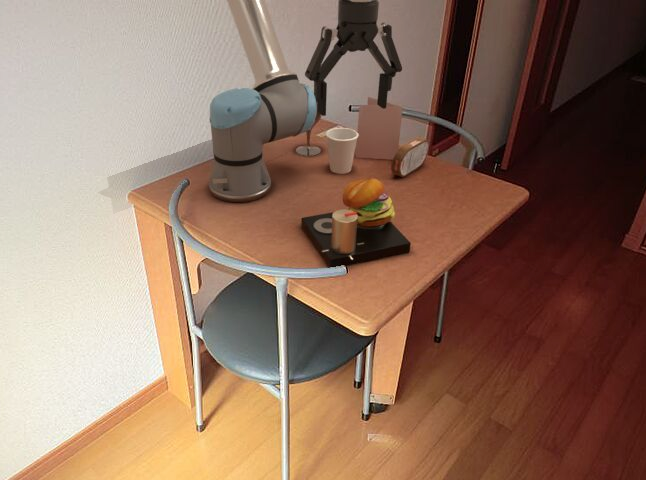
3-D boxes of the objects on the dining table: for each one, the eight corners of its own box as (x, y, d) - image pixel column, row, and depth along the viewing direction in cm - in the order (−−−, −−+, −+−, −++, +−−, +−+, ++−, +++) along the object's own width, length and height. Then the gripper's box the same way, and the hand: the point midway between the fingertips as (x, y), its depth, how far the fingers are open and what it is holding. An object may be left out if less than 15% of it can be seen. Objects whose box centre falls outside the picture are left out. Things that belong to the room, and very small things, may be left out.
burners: (307, 219, 121) (307, 218, 121) (376, 207, 126) (376, 205, 126) (321, 239, 115) (321, 237, 115) (393, 225, 120) (393, 223, 120)
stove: (298, 227, 123) (298, 217, 122) (373, 214, 129) (374, 204, 127) (330, 274, 109) (330, 263, 108) (413, 256, 115) (414, 246, 113)
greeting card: (398, 159, 154) (404, 106, 145) (383, 167, 149) (388, 113, 141) (366, 147, 160) (369, 96, 151) (350, 155, 155) (353, 102, 147)
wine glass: (327, 149, 158) (329, 97, 150) (312, 158, 153) (313, 105, 144) (304, 142, 162) (304, 91, 153) (288, 151, 156) (288, 99, 148)
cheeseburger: (393, 232, 117) (386, 190, 111) (344, 236, 120) (335, 196, 114) (397, 208, 125) (391, 168, 119) (351, 212, 128) (343, 174, 122)
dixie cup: (361, 166, 150) (363, 131, 144) (347, 178, 143) (350, 142, 138) (333, 159, 153) (334, 125, 147) (319, 171, 147) (320, 135, 141)
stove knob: (336, 256, 110) (338, 222, 105) (327, 243, 114) (328, 210, 109) (359, 251, 111) (362, 218, 107) (349, 238, 115) (351, 206, 111)
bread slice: (418, 160, 154) (422, 131, 149) (428, 163, 152) (432, 134, 147) (388, 178, 144) (391, 148, 139) (398, 182, 142) (402, 151, 137)
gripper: (302, 5, 96) (301, 123, 108) (427, -2, 103) (413, 109, 116) (288, -3, 101) (289, 110, 114) (408, -9, 109) (397, 98, 121)
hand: (352, 110), depth 115 cm, fingers open, 13 cm apart
